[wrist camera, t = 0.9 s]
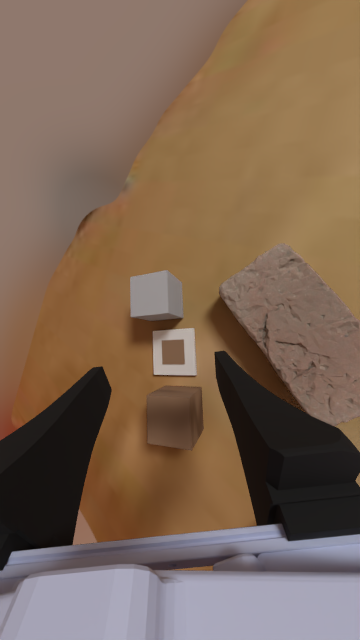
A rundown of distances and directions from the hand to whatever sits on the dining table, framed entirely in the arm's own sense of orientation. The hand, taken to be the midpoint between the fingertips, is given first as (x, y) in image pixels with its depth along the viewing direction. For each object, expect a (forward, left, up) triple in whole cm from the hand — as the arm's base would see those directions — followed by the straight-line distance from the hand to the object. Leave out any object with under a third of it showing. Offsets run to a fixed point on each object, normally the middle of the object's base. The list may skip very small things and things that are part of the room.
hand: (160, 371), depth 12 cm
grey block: (+8, +5, -13) cm, 16 cm away
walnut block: (-6, +3, -13) cm, 15 cm away
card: (+1, +4, -13) cm, 14 cm away
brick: (+3, -10, -13) cm, 17 cm away
